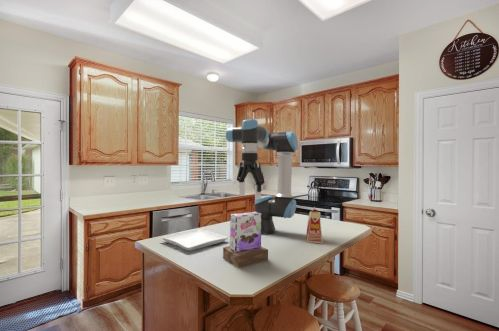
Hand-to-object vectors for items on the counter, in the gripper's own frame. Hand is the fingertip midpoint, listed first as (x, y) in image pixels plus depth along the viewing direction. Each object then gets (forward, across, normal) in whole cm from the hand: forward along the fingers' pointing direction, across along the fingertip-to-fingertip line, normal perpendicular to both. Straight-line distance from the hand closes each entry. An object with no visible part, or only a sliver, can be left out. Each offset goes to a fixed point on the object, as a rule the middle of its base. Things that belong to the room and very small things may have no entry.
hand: (249, 197), depth 126 cm
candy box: (+24, +2, -3) cm, 24 cm away
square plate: (+29, -36, -14) cm, 48 cm away
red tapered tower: (+30, -2, +47) cm, 55 cm away
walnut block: (+29, +2, -3) cm, 29 cm away
